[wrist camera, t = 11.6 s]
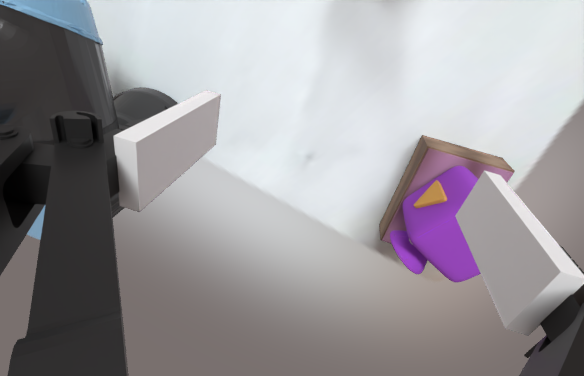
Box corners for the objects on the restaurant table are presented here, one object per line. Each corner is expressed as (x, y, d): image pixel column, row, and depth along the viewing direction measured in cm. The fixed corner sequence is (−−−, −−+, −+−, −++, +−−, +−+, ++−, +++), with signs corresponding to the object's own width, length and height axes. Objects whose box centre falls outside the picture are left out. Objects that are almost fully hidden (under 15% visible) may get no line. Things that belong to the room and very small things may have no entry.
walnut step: (379, 224, 50) (380, 241, 47) (422, 135, 42) (427, 147, 38) (445, 244, 50) (452, 263, 46) (502, 158, 42) (516, 172, 38)
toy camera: (374, 220, 45) (376, 268, 37) (446, 150, 38) (469, 189, 30) (431, 258, 46) (446, 313, 38) (511, 197, 39) (552, 248, 31)
